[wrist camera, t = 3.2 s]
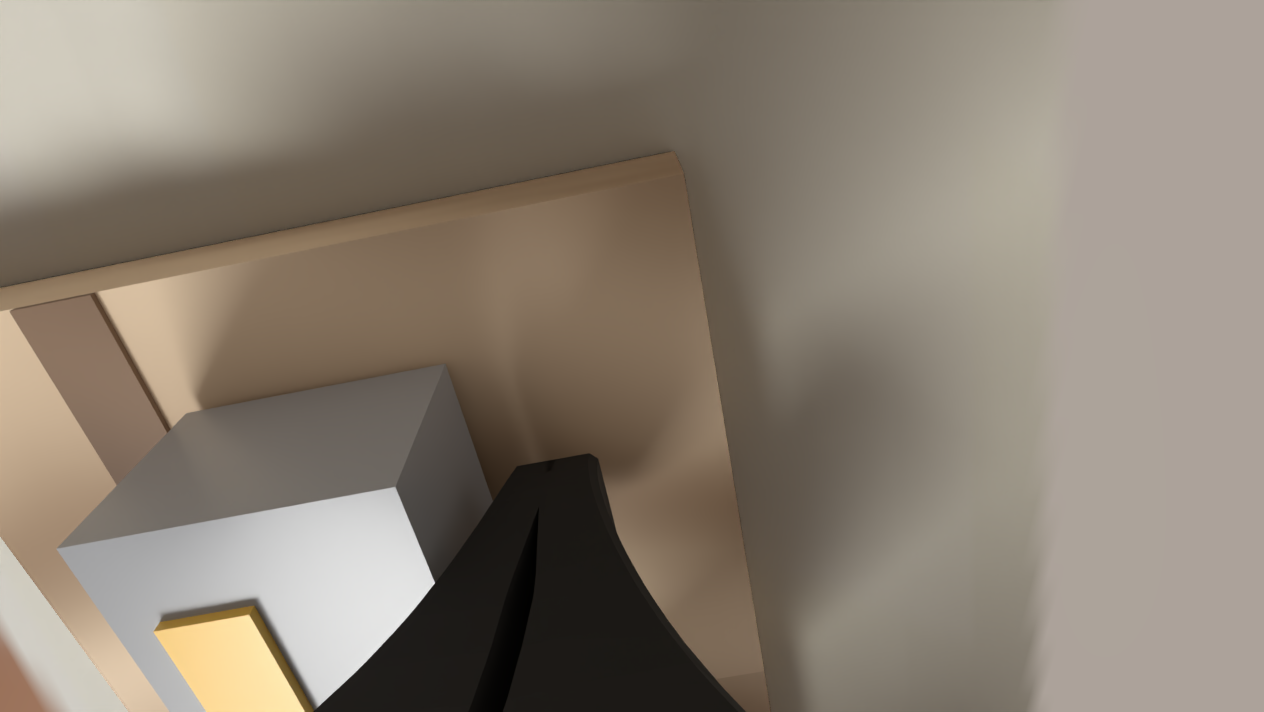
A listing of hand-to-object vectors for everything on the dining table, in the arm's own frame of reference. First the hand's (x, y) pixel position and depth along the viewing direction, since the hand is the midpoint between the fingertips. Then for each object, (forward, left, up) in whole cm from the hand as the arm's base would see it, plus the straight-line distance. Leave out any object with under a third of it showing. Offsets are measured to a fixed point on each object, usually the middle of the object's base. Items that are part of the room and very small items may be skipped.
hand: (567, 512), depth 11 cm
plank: (-3, +3, -2) cm, 5 cm away
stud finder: (0, +3, -1) cm, 3 cm away
